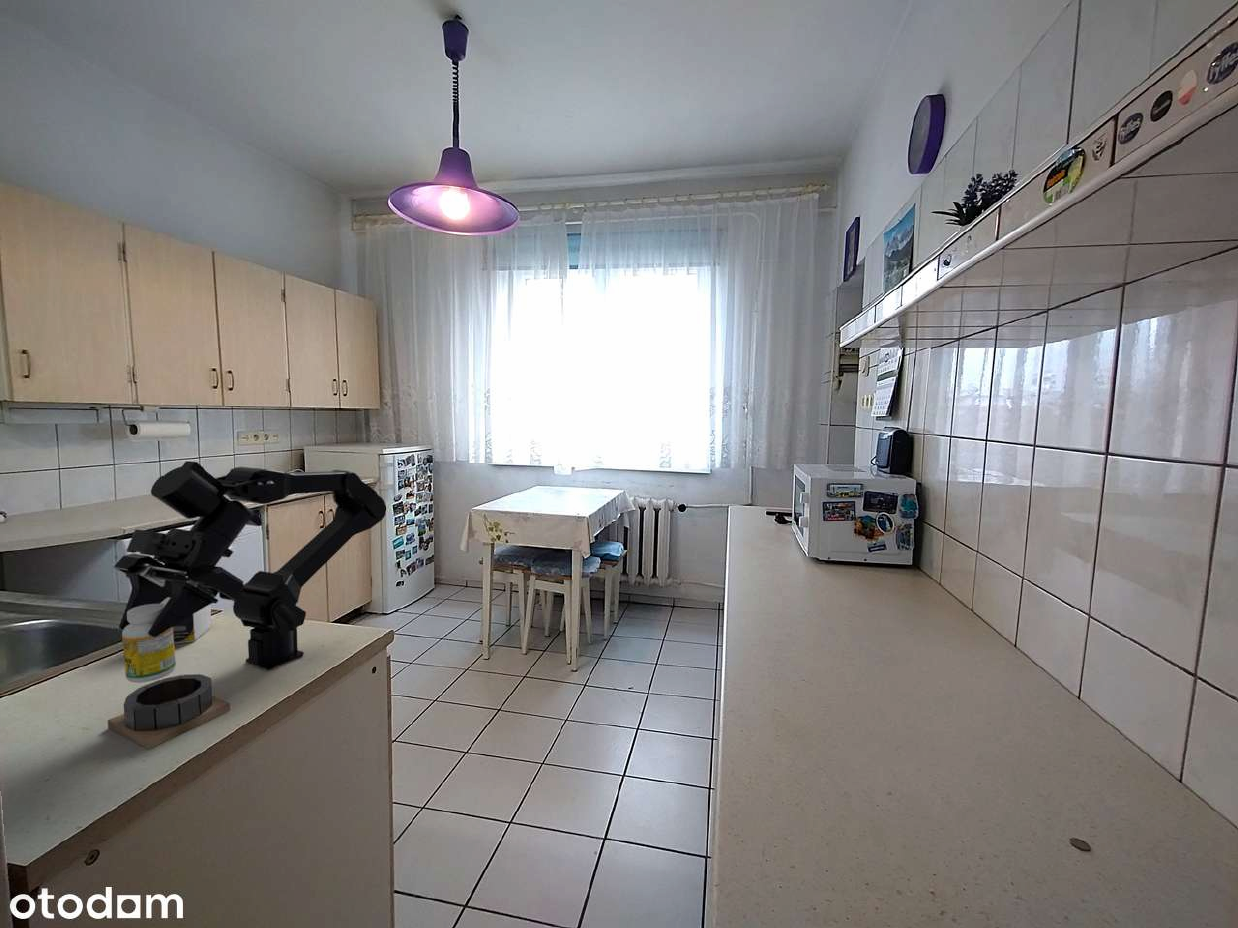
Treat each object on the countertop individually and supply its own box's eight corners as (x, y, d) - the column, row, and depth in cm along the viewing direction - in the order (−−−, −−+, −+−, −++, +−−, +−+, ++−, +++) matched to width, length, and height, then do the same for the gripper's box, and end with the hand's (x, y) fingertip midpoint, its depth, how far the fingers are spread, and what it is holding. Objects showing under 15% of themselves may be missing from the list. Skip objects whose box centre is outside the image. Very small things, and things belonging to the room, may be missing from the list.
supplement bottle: (177, 675, 76) (172, 609, 75) (125, 688, 72) (119, 619, 71) (174, 660, 80) (170, 598, 78) (125, 672, 76) (120, 607, 75)
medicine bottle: (148, 645, 98) (144, 582, 97) (169, 629, 105) (165, 570, 104) (194, 642, 100) (191, 580, 99) (212, 627, 107) (209, 568, 105)
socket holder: (190, 693, 83) (189, 667, 83) (230, 710, 79) (228, 682, 79) (108, 728, 74) (106, 699, 73) (148, 748, 70) (146, 718, 70)
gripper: (124, 500, 79) (33, 598, 70) (218, 511, 74) (133, 618, 65) (184, 539, 88) (109, 631, 79) (272, 551, 83) (204, 651, 73)
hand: (136, 632), depth 74 cm, fingers closed on supplement bottle, 5 cm apart
